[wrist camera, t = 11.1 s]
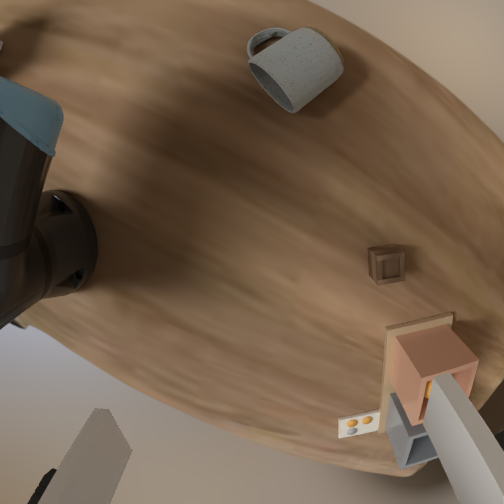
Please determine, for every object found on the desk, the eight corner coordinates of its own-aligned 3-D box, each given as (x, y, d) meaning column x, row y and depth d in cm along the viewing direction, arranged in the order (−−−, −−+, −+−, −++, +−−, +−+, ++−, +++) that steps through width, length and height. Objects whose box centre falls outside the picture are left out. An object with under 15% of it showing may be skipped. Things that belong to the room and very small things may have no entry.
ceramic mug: (341, 79, 33) (358, 59, 25) (291, 119, 34) (297, 107, 27) (280, 21, 31) (282, -9, 23) (230, 59, 33) (221, 34, 25)
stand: (369, 275, 39) (377, 285, 35) (367, 248, 38) (377, 256, 34) (394, 270, 38) (404, 280, 35) (393, 244, 38) (404, 251, 34)
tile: (338, 435, 47) (339, 439, 46) (338, 417, 46) (339, 420, 45) (376, 428, 46) (377, 431, 46) (379, 409, 45) (380, 412, 44)
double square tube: (376, 429, 46) (391, 475, 36) (385, 327, 41) (413, 372, 30) (430, 414, 45) (452, 455, 35) (450, 312, 40) (488, 349, 29)
